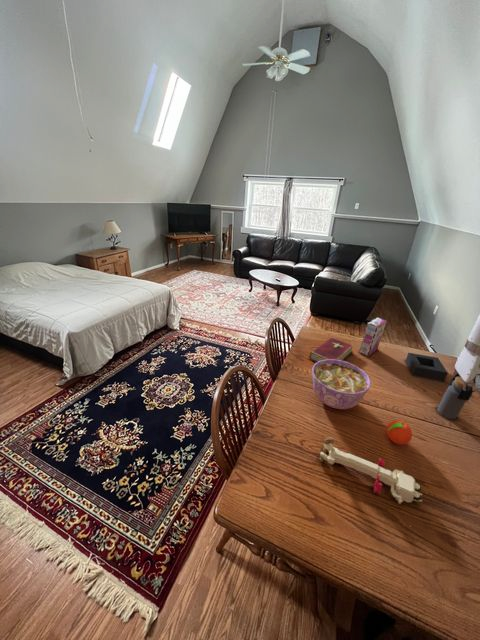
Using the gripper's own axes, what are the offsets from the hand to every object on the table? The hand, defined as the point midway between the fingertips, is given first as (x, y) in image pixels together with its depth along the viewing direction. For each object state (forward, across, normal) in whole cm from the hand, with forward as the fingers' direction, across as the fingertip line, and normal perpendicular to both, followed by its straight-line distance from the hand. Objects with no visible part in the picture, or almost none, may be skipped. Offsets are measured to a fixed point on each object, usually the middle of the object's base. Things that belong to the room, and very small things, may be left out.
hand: (458, 392), depth 92 cm
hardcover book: (+10, +26, +40) cm, 49 cm away
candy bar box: (+10, +37, +22) cm, 44 cm away
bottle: (+10, 0, 0) cm, 10 cm away
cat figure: (+10, -35, +31) cm, 48 cm away
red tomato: (+10, -19, +21) cm, 30 cm away
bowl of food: (+10, -6, +39) cm, 41 cm away
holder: (+10, +28, 0) cm, 30 cm away
